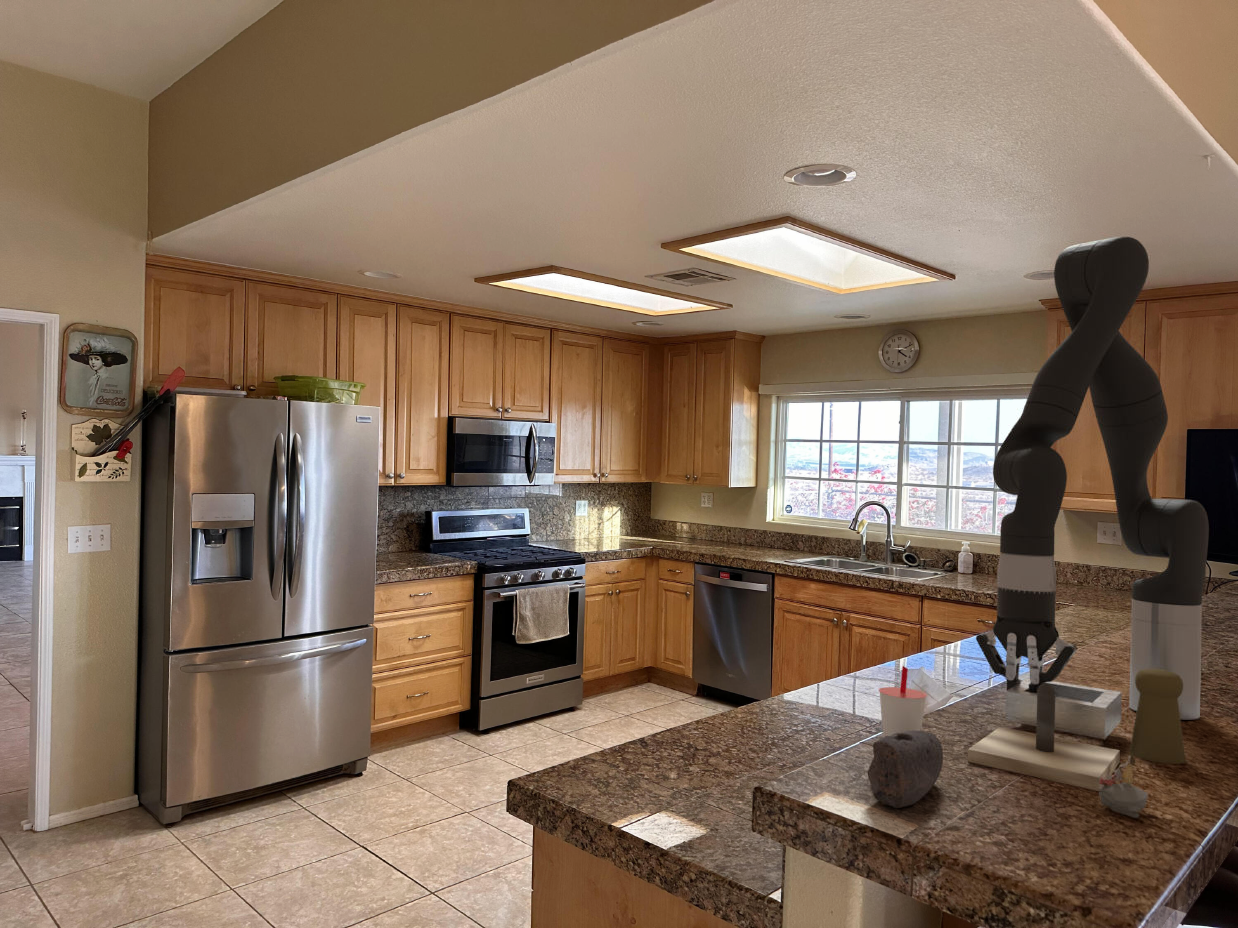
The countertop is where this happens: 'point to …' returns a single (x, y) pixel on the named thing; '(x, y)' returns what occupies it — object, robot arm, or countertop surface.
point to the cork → (1158, 717)
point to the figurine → (1122, 792)
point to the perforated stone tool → (905, 767)
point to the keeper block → (1045, 751)
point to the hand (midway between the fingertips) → (1023, 707)
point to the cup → (901, 708)
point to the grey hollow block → (1068, 708)
